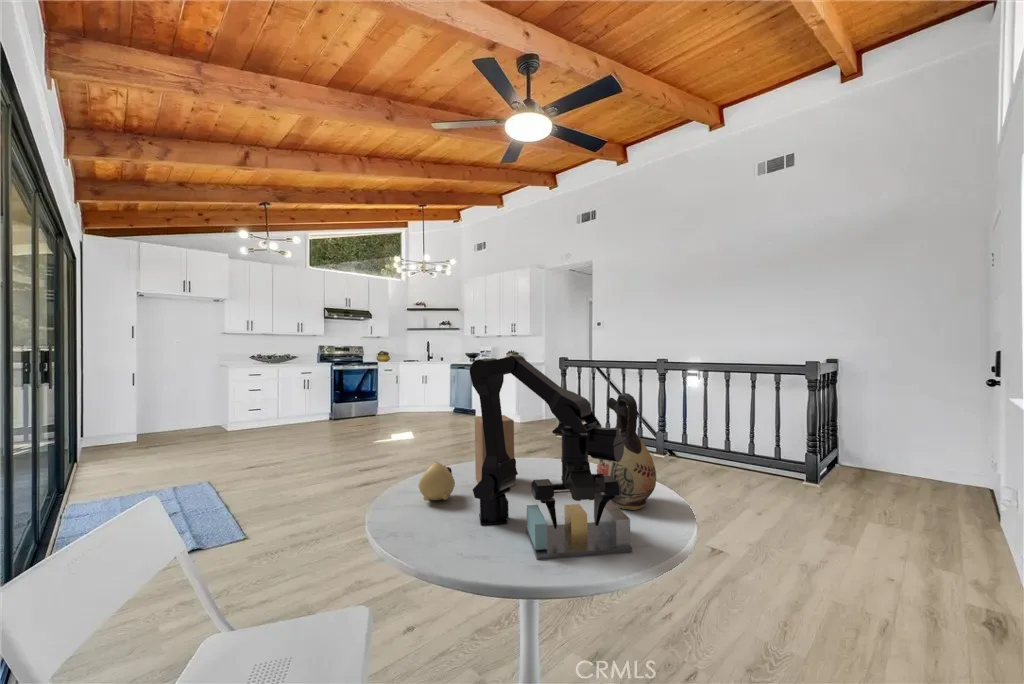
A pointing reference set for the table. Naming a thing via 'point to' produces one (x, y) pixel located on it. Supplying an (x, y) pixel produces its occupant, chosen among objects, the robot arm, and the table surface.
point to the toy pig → (437, 482)
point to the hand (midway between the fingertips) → (575, 526)
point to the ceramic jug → (630, 458)
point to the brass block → (575, 523)
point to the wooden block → (480, 443)
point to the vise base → (590, 537)
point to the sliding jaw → (537, 527)
